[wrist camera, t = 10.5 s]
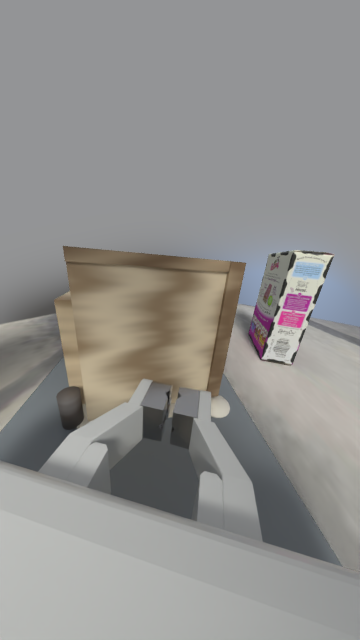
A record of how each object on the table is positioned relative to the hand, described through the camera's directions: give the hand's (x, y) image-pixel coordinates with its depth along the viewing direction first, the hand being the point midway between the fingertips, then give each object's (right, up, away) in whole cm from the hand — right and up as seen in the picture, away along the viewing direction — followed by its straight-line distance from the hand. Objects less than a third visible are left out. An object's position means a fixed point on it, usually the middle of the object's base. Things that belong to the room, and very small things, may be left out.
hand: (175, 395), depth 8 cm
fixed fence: (-10, -3, +11) cm, 15 cm away
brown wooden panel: (-2, -4, +9) cm, 10 cm away
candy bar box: (+16, -1, +23) cm, 29 cm away
